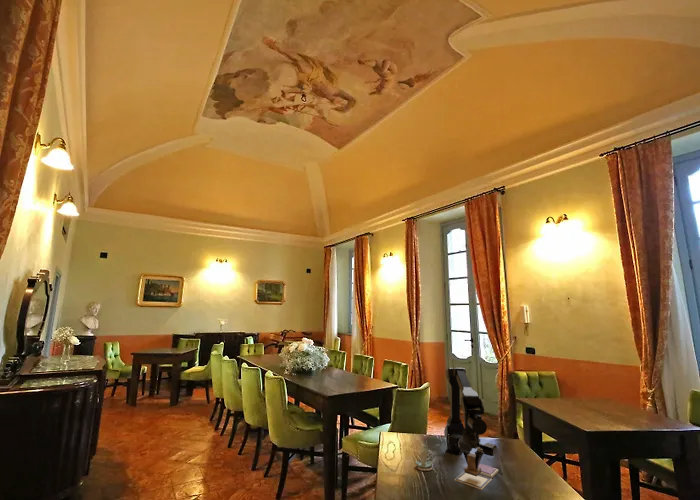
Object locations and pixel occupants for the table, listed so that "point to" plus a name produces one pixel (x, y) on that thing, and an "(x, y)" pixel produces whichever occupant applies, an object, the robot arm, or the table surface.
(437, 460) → the table surface
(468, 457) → the stamp
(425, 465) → the pacifier
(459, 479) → the marked card
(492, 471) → the ink pad
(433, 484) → the table surface
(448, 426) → the robot arm
